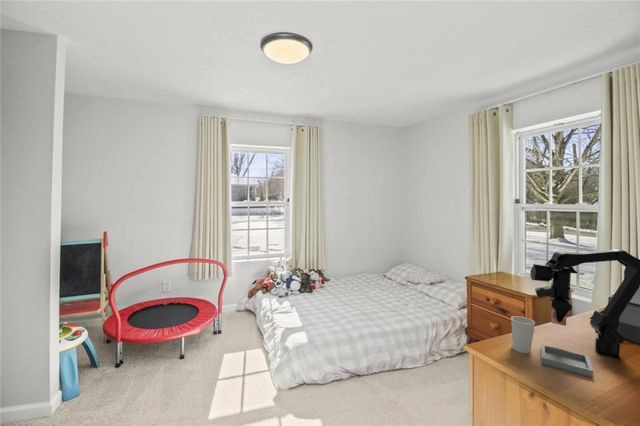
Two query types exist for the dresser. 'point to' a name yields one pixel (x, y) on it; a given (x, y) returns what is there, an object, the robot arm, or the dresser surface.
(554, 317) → the block
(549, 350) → the tray
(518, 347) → the cup
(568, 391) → the dresser surface
